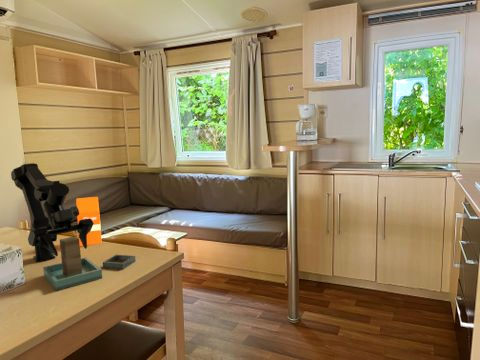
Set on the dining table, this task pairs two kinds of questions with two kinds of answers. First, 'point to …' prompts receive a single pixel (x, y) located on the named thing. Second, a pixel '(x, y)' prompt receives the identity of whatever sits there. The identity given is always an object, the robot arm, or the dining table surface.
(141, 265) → the dining table surface
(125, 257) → the grey square bin
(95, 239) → the orange juice
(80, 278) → the tray
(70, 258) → the plate
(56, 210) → the robot arm
